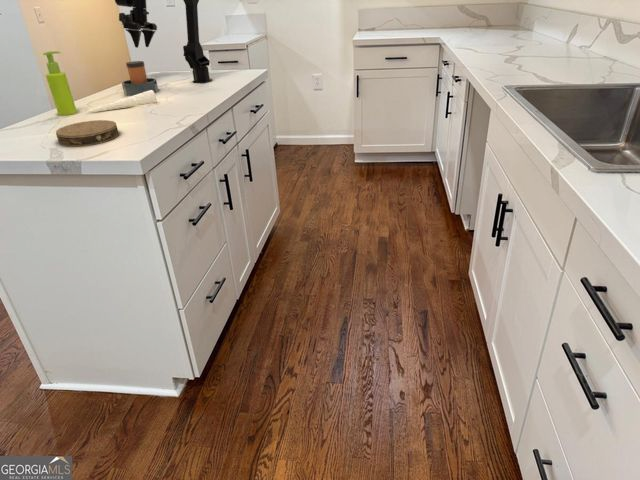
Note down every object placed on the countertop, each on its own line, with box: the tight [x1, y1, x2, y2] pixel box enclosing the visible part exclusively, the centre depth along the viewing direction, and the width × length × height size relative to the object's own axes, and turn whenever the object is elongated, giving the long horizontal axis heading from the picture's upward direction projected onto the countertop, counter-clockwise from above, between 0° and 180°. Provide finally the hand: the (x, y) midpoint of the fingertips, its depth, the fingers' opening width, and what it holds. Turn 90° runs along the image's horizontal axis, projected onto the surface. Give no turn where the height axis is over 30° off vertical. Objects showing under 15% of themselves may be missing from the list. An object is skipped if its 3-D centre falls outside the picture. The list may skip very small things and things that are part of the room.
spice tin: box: [125, 60, 148, 84], centre depth 179 cm, size 7×7×12 cm
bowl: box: [121, 77, 159, 97], centre depth 181 cm, size 13×13×5 cm
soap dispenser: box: [42, 50, 78, 116], centre depth 152 cm, size 6×7×20 cm
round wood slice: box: [55, 119, 120, 148], centre depth 128 cm, size 16×16×3 cm
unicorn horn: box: [87, 90, 158, 113], centre depth 160 cm, size 5×24×5 cm, turn 118°
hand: (141, 47), depth 199 cm, fingers open, 9 cm apart
